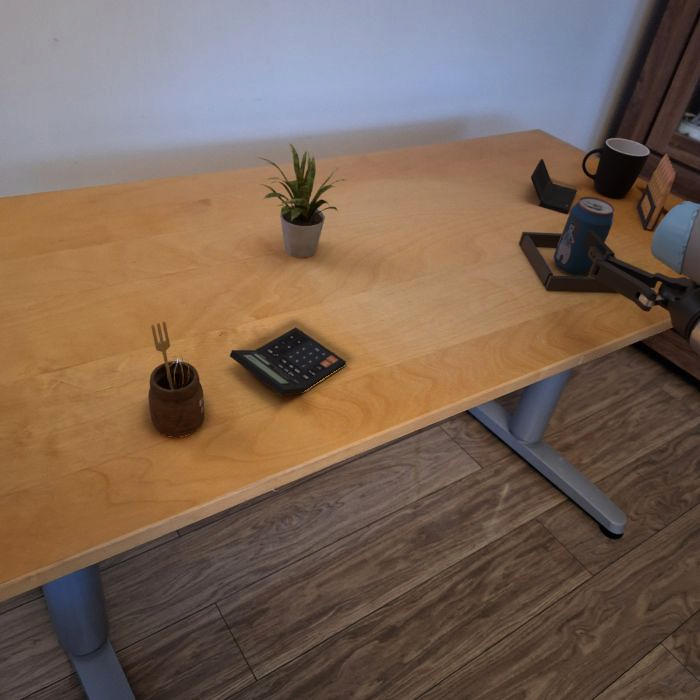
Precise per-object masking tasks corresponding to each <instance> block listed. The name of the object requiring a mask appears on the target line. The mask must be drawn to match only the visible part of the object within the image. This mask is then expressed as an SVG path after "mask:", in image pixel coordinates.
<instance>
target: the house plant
mask: <svg viewBox="0 0 700 700" xmlns="http://www.w3.org/2000/svg"><path fill="white" fill-rule="evenodd" d="M289 147H290V149H291V153H292V159H293V170H294V174H295V178H296V179H295V180H288V178H287V177H286V175H285V174H284V172H283V171H282V170H281V168H280V167H279V166H278V165H277V164H276V163H275V162H274V161H271V160H269V159H266V158H264V157H258V156H256V158H257V159H260V160H264V161H266V162H265V163H267V164H269V165H272V166H274V167H275V168H276V169H277V170H278V171H279V172H280V174H281V175H282V176H283V179H281V178H279V177H275V176H274V177H269V178H268V177H267V178H266V179H265V181H269V180H280V181H278V183H279V184H281V185H282V186H283V188H284V189H285V191H287V193H288V195H289V197H290V199H289V198H288V197H286V196H285V195H284V194H282V193H280V192H277V191H276V190H275V189H274V188H272V187H271V186H269V185H267V184H261V183H260V184H259V185H261V186H264V187H265V188H268V189H269V190H270V191H271V192H269V193H267V194H266V195H265V196H264V197H263V198H262V200H265V199H270V198H278V199H279V200H280V201H281V203H280V204H278V205H276V206H275V207H277V208H278V207H281V209H280V224H281V232H282V239H283V245H284V251H285V253H287V255H289V256H291V257H294V258H299V259H304V258H310V257H312V256H314V255H315V254H316V252H317V249H318V245H319V241H320V237H321V234H322V231H323V226H324V224H325V219H326V218H325V214H324V211H325V210H334V211H337V213H339V211H338V208H337V206H330V204H329V202H328V201H327V200H326V199H323V198H322V199H321V198H320V197H321V196H322V194H324V193H325V192H327V191H328V190H329V189H332V188H333V187H334V188H336V186H335V185H333V184H336V183H338V182H343V181H348V179H345V178H340V179H337V180H335V181H333V182H331V183H330V184H328V185H327V184H326V183H328V182H329V180H330V179H331V178H332V176H333V175H334V174H335V173H336V172H337V171H338V169H339V168H340V167H339V166H338V167H337V168H335V170H333V171H332V173H331V174H330V175H329V176H327V179H326V180H325V181H324V182H323V183H322V184H321V186H320V187H319V188H318V190H317V191H316V193H315V195H314V196H313V198H312V199H311V196H312V193H313V188H314V183H315V179H316V172H317V171H316V170H317V169H316V161H315V157H314V156H312V158H311V155H310V153H309V152H308V151H307V150H306V151H305V152H304V153H303V154H302V158H301V162H300V158H299V154H298V151H297V150H296V149H295V147H294V145H293V144H292V143H289ZM306 165H307V169H306ZM305 169H306V171H305ZM273 183H275V181H272V182H271V184H273ZM283 198H284V199H285V200H284V199H283ZM319 198H320V199H319ZM310 199H311V201H310ZM289 204H290V205H289ZM324 204H327V206H328V207H325V208H323V209H322V210H320V207H321V206H322V205H324Z"/></svg>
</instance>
